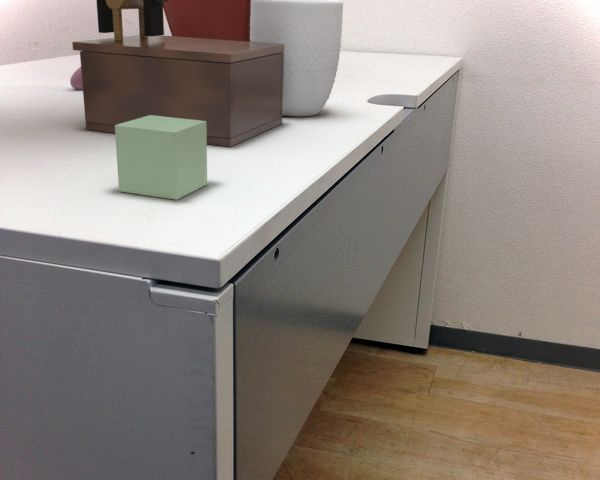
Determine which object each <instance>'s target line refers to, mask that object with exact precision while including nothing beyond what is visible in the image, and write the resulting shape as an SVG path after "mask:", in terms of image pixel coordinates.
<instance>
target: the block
mask: <svg viewBox="0 0 600 480" xmlns="http://www.w3.org/2000/svg"><path fill="white" fill-rule="evenodd" d="M114 134H115V151H116V166H117V179H118V181H117V182H118V192H121V193H127V194H134V195H142V196H149V197H155V198H162V199H169V200H176V201H178V200H180V199H181V198H183V197H185V196H187V195H190V194H191V193H193V192H195V191H197V190H199V189H200V188H203V187H205V186H207V185H208V144H207V131H206V121H200V120H191V119H182V118H172V117H163V116H154V115H149V116H145V117H142V118H138V119H135V120H131V121H128V122H124V123H121V124H117V125H115V133H114Z"/></svg>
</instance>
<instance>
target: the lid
mask: <svg viewBox="0 0 600 480" xmlns="http://www.w3.org/2000/svg"><path fill="white" fill-rule="evenodd" d="M106 3H107V5H108V6H109V8H111V9H112V10H113V26H114V32H113V37H107V38H98V39H90V40H89V39H87V40H86V39H85V40H77V41H72V44H71V45H72V50H73V51H78V52H80V51H89V52H101V53H113V54H126V55H138V56H150V57H162V58H174V59H187V60H199V61H211V62H223V63H233V62H238V61H242V60H247V59H252V58H257V57H262V56H266V55H271V54H276V53H281V52H284V44H273V43H259V42H245V41H231V40H217V39H203V38H189V37H175V36H172V35H160V36H145V30H144V9H143V0H106ZM123 10H138V11H137V12H138V30H139V31H138V32H139V34H136V35H126V36H124V31H123V14H122V13H123V12H122V11H123Z"/></svg>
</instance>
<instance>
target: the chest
mask: <svg viewBox="0 0 600 480" xmlns="http://www.w3.org/2000/svg"><path fill="white" fill-rule="evenodd" d="M79 58H80V67H81V72H82V85H83V89H82V95H83V107H84V118H85V119H84V120H85V130H87V131H95V132H102V133H110V134H112V133H113V134H115V125H117V124H121V123H124V122H128V121H131V120H135V119H138V118H142V117H145V116H149V115H154V116H163V117H172V118H182V119H191V120H200V121H206V131H207V145H212V146H220V147H229V148H230V147H233V146H235V145H238V144H240V143H242V142H245V141H247V140H249V139H251V138H253V137H256V136H258V135H260V134H262V133H264V132H267V131H269V130H271V129H274V128H276V127H278V126H280V125H283V116H282V110H283V74H284V52H281V53H276V54H271V55H266V56H262V57H257V58H252V59H247V60H242V61H238V62H233V63H223V62H211V61H199V60H187V59H174V58H162V57H150V56H138V55H126V54H113V53H101V52H89V51H79Z"/></svg>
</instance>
